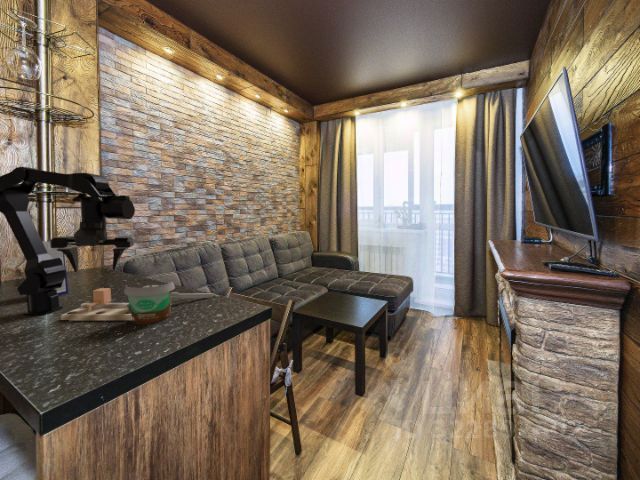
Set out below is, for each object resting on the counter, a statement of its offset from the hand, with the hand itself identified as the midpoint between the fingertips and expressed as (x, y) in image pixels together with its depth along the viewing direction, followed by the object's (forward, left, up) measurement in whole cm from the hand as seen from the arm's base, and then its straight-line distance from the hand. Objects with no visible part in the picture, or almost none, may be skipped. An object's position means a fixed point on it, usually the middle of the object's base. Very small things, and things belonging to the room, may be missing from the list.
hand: (95, 271), depth 88 cm
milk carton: (-29, +18, -12) cm, 37 cm away
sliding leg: (+1, -2, -10) cm, 10 cm away
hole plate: (+4, -2, -12) cm, 13 cm away
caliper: (+22, +9, -13) cm, 28 cm away
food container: (+20, -8, -13) cm, 25 cm away
